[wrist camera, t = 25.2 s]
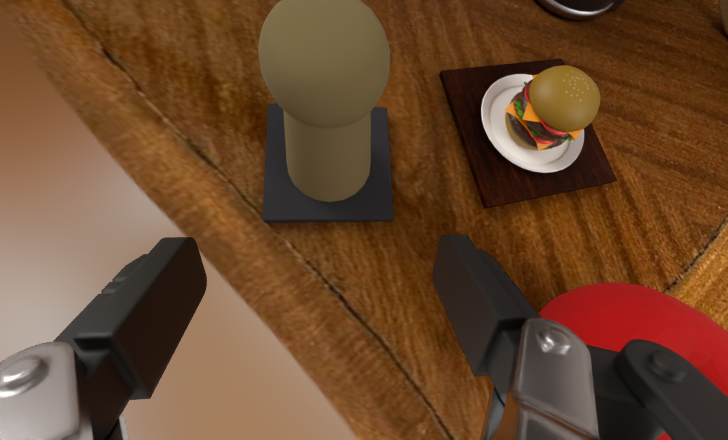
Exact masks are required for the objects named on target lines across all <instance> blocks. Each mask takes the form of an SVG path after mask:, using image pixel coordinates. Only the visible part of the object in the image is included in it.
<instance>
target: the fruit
mask: <svg viewBox="0 0 728 440" xmlns="http://www.w3.org/2000/svg"><path fill="white" fill-rule="evenodd" d="M539 315H540V316H541V317H542V318H545V319H550V320H553V321H555V322H558V323H560V324H562V325H564V326H565V327H567V328H569V329H570V330H571V331H573V332H574V333H575V334H576V335H577V336H578V337H579V338H581V340H582V341H583V342H584V343H585V344H586V345H591V346H595V347H600V348H604V349H609V350H613V351H618V352H620V351H621V349H622V348H623V347H624V346H625V345H626V343H627V342H629V341H630V340H633V339H643V340H648V341H651V342H655V343H657V344H660V345H662V346H664V347H667V348H669V349H670V350H672V351H674V352H676V353H677V354H679V355H680V356H682V357H683V358H685V359H686V360H687V361H689V362H690V363H691V364H692V365H694V366H695V367H696V368H697V369H698V370H699V371H700V372H701V373H702V374H703V375H705V376H706V377H707V378H708V379H709V380H710V381H711V382H712V383H713V384H714V385H716V386H717V387H718V388H719V389H720V390H721V391H722V392H723V393H724V394H725V395H726V396H728V332H727V331H726V330H725V329H723V328H722V327H721V326H719V325H718V324H717V323H716V322H714V321H713V320H712V319H710V318H709V317H708V316H706V315H705V314H703V313H702V312H700V311H698V310H696V309H694V308H692V307H690V306H689V305H687V304H685V303H683V302H681V301H679V300H678V299H676V298H674V297H672V296H669V295H667V294H664V293H662V292H660V291H657V290H655V289H652V288H649V287H644V286H640V285H635V284H626V283H617V282H610V283H598V284H592V285H587V286H582V287H579V288H577V289H574V290H572V291H569V292H566V293H564V294H561V295H559V296H557V297H555V298H554V299H552V300H551V301H550V302H549V303H547V304H546V305H545V306H544V308H543V309H542V310H541V311H540V312H539ZM656 440H672V439H671V438H670V437H669V436H668V434H667V433H666V432H665V433H664V434H662V435H661V436H660V437H659V438H657V439H656Z"/></svg>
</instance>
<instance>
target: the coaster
mask: <svg viewBox="0 0 728 440" xmlns="http://www.w3.org/2000/svg"><path fill="white" fill-rule="evenodd" d="M393 219H394V215H393V199H392V183H391V167H390V151H389V135H388V120H387V108H380V107H374V108H373V109H372V110H371V165H370V174H369V176H368V178H367V180H366V182H365V184H364V186H363V187H362V188H361V189H360V190H359V191H358V192H357V193H356V194H354V195H352V196H350V197H348V198H346V199H344V200H340V201H334V202H326V201H319V200H315V199H313V198H311V197H309V196H306V195H304V194H303V193H302V192H301V191H300V190H299V189H298V188H297V187H296V186H295V185H294V183H293V182H292V180H291V178H290V176H289V174H288V168H287V160H286V144H285V128H284V112H283V109H282V108H281V107H280V106H279V105H278V104H268V122H267V141H266V160H265V180H264V199H263V221H264V222H265V223H278V222H378V221H392V220H393Z"/></svg>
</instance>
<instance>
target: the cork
mask: <svg viewBox="0 0 728 440" xmlns="http://www.w3.org/2000/svg"><path fill="white" fill-rule="evenodd" d="M258 51H259V61H260V68H261V73H262V76H263V79H264V82H265V84H266V86H267V88H268V89H269V91H270V93H271V95H272V96H273V98H274V100H275V101H276V102H277V104H278V105H279V106H280V107H281V108H282V109H283V112H284V128H285V144H286V160H287V168H288V174H289V176H290V178H291V180H292V182H293V183H294V185H295V186H296V187H297V188H298V189H299V190H300V191H301V192H302V193H303V194H304V195H306V196H309V197H311V198H313V199H315V200H319V201H326V202H334V201H340V200H344V199H346V198H348V197H350V196H352V195H354V194H356V193H357V192H358V191H359V190H360V189H361V188H362V187H363V186H364V184H365V182H366V180H367V178H368V176H369V174H370V165H371V110H372V109H373V108H374V107H375V105H376V104H377V103H378V101H379V99H380V97H381V95H382V93H383V91H384V89H385V88H386V84H387V81H388V77H389V68H390V48H389V45H388V41H387V37H386V33H385V31H384V29H383V27H382V25H381V23H380V22H379V20H378V19H377V17H376V16H375V14H374V13H373V11H372V10H371V9H370V8H369V7H367V6H366V5H365V4H364V3H362V2H361V1H360V0H281V1H280V2H279V3H277V4H276V5H275V7H274V8H273V9H272V11H271V12H270V13H269V15H268V16H267V18H266V20H265V22H264V24H263V27H262V31H261V35H260V38H259V42H258Z"/></svg>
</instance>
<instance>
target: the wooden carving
mask: <svg viewBox="0 0 728 440" xmlns="http://www.w3.org/2000/svg"><path fill="white" fill-rule="evenodd" d="M718 1H719V9H720V15H721V20H722V23H723V26H724V30H725V32H726V34H727V35H728V0H718Z"/></svg>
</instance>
